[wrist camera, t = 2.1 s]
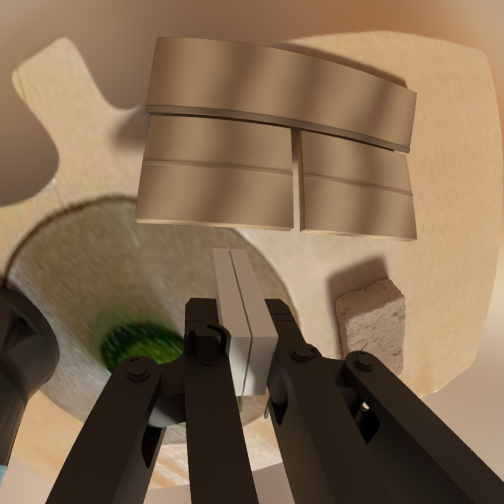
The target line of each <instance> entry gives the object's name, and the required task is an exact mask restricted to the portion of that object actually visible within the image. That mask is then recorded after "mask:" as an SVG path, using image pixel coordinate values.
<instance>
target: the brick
mask: <svg viewBox="0 0 504 504" xmlns="http://www.w3.org/2000/svg"><path fill="white" fill-rule="evenodd" d="M404 302H405V298H404V295H403V294H402V293H401V291H400V290H399V289H398V288H397V287H396V286H395V285H394V284H393V282H392V281H391V280H389V279H382V280H380V281H379V280H378V281H376V282H374V283H373V284H371V285H369V286H367V287H364V288H362V289H360V290H355V291H352V292H348V293H346V294H344V295H342V296H340V297H339V298H337V300H336V301H335V308H336V316H337V320H338V323H339V324H340V325H339V326H340V329H339V331H340V337H341V345H342V351H343V358H344V360H345V358H346V356H347V354H348V353H350V352H352V351H357V350H359V351H366V352H368V353H371V354H373V355H374V356H375V357H377V358H378V359H379V360H380V361H381V362H382V363H383V364H384V365H385V366H386V367H387V368H388V369H389V370H390V371H391V372H393V373H394V374H395V375H396V376H398V375H399V374H401V373H402V370H403V348H402V345H403V340H404V329H405V303H404Z"/></svg>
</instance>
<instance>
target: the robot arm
mask: <svg viewBox="0 0 504 504" xmlns="http://www.w3.org/2000/svg"><path fill="white" fill-rule="evenodd" d="M58 362H59V346H58V343H57V340H56V337H55V335H54V333H53V331H52V329H51V327H50V326H49V324H48V323H47V321H46V320H45V319H44V317H43V316H42V315H41V314H40V313H39V311H38V310H37V309H36V308H35V307H34V306H33V305H32V304H30V303H29V302H28V301H27V300H26V299H24V298H23V297H22V296H20V295H19V294H17V293H15V292H13V291H11V290H9V289H7V288H4V287H0V486H1V482H2V479H3V476H4V473H5V470H7V468H8V463H9V459H10V455H11V452H12V448H13V445H14V441H15V438H16V435H17V432H18V428H19V425H20V422H21V419H22V416H23V413H24V411H25V408H26V406H27V403H28V401H29V399H30V398H31V397H32V396H33V395H34V394H35V393H36V392H37V391H38V389H39V388H40V387H41V386H42V385H43V384H45V383H46V382H47V381H48V380H49V379H50V378H51V377H52V376H53V374H54V372H55V369H56V367H57V364H58ZM266 386H267V387H268V390H269V394H270V395H269V399H268V402H267V406H266V410H265V413H264V419H266V418H268V415H269V412H270V416H271V420H272V424H273V427H274V431H275V435H276V438H277V442H278V446H279V449H280V453H281V456H282V460H283V464H284V467H285V471H286V474H287V478H288V481H289V485H290V488H291V492H292V495H293V498H294V502H295V504H504V482H503V481H502V480H501V479H500V478H499V477H498V476H497V475H496V474H495V473H494V472H493V471H492V470H491V469H490V468H489V467H488V466H487V465H486V464H485V463H484V462H483V461H482V460H481V459H480V458H479V457H478V456H477V455H476V454H475V453H474V452H473V451H472V450H471V449H470V448H469V447H468V446H467V445H466V444H465V443H464V442H463V441H462V440H461V439H460V438H459V437H458V436H457V435H456V434H455V433H454V432H453V431H452V430H451V429H450V428H449V427H448V426H447V425H446V424H445V423H444V422H443V421H442V420H441V419H440V418H439V417H438V416H437V415H436V414H434V412H432V410H431V409H430V408H429V407H427V406H426V405H425V404H424V403H423V402H422V401H421V400H420V399H419V398H418V397H417V396H416V395H415V394H414V393H413V392H412V391H411V390H410V389H409V388H408V387H407V386H406V385H405V384H404V383H403V382H402V381H401V380H400V379H399V378H398V377H397V376H396V375H395V374H394V373H393V372H391V371H390V370H389V369H388V368H387V367H386V366H385V365H384V364H383V363H382V362H381V361H380V360H379V359H378V358H377V357H375V356H374V355H373V354H371V353H368V352H366V351H359V350H357V351H352V352H350V353H348V354H347V356H346V358H345V360H336V359H330V358H325V357H322V355H321V353H320V352H319V351H318V349H317V348H315V347H314V346H312V345H311V344H308V343H306V342H305V340H304V338H303V336H302V334H301V332H300V330H299V328H298V325H297V323H296V322H295V319H294V317H293V315H292V313H291V311H290V309H289V307H288V306H287V305H286V304H285V303H284V302H283V301H282V300H280V299H264V298H263V295H262V292H261V290H260V287H259V285H258V282H257V279H256V277H255V274H254V271H253V269H252V266H251V263H250V261H249V258H248V255H247V253H246V250H241V249H230V252H229V249H222V248H213V250H212V262H211V275H210V289H209V298H190V300H189V301H188V302H187V304H186V306H185V334H184V351H183V353H182V355H181V356H180V357H179V358H177V359H176V360H174V361H172V362H168V363H164V364H159V365H158V364H157V363H156V362H155V361H154V360H153V359H150V358H148V357H145V356H132V357H128V358H126V359H124V360H122V361H121V362H120V363H119V364H118V365H117V366H116V368H115V370H114V371H113V373H112V375H111V376H110V378H109V380H108V382H107V383H106V385H105V387H104V389H103V391H102V392H101V394H100V396H99V398H98V400H97V401H96V403H95V405H94V407H93V409H92V411H91V412H90V414H89V416H88V418H87V420H86V422H85V424H84V425H83V427H82V429H81V431H80V433H79V435H78V437H77V439H76V441H75V443H74V445H73V447H72V449H71V451H70V453H69V455H68V457H67V459H66V461H65V463H64V465H63V467H62V469H61V471H60V473H59V475H58V477H57V479H56V481H55V483H54V486H53V488H52V490H51V492H50V494H49V496H48V499H47V501H46V503H45V504H143V502H144V499H145V495H146V492H147V489H148V485H149V482H150V479H151V476H152V472H153V469H154V466H155V463H156V459H157V456H158V453H159V450H160V447H161V443H162V440H163V437H164V434H165V431H166V428H167V426H170V425H174V424H178V423H182V422H186V437H187V454H188V468H189V481H190V491H191V502H192V504H259V502H258V498H257V494H256V489H255V485H254V481H253V476H252V471H251V467H250V462H249V458H248V453H247V448H246V444H245V439H244V434H243V429H242V424H241V419H240V414H239V409H238V404H237V399H236V396H241V395H242V392H243V396H246V395H264V394H265V390H266ZM364 402H365V404H366V405H367V406H368V407H369V409H366V408H365V407H363V403H364Z"/></svg>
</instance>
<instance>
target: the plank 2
mask: <svg viewBox="0 0 504 504" xmlns="http://www.w3.org/2000/svg"><path fill="white" fill-rule="evenodd" d="M297 151H298V174H299V206H300V232H304V233H317V234H329V235H341V236H353V237H365V238H376V239H387V240H397V241H408V242H410V241H413V240H417V234H416V223H415V214H414V205H413V194H412V190H411V183H410V177H409V171H408V165H407V160H406V155H403V154H399V153H396V152H392V151H389V150H385V149H381V148H378V147H374V146H370V145H366V144H362V143H358V142H354V141H350V140H345V139H341V138H336V137H332V136H327V135H322V134H317V133H312V132H306V131H301V132H300V133H299V135H298V136H297Z"/></svg>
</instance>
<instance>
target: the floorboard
mask: <svg viewBox="0 0 504 504" xmlns="http://www.w3.org/2000/svg"><path fill="white" fill-rule="evenodd" d="M416 97H417V93H416V92H414V91H411V90H409V89H407V88H404V87H402V86H400V85H397V84H395V83H392V82H390V81H387V80H385V79H382V78H379V77H377V76H374V75H371V74H368V73H365V72H363V71H360V70H357V69H354V68H350V67H347V66H344V65H341V64H337V63H334V62H331V61H327V60H323V59H320V58H316V57H312V56H308V55H304V54H300V53H295V52H291V51H286V50H281V49H276V48H271V47H265V46H259V45H253V44H246V43H238V42H231V41H222V40H213V39H200V38H181V37H157V42H156V48H155V53H154V59H153V66H152V72H151V79H150V86H149V93H148V101H147V108H146V112H148V113H172V114H190V115H205V116H216V117H227V118H236V119H245V120H253V121H260V122H267V123H274V124H280V125H287V126H292V127H298V128H304V129H309V130H314V131H319V132H324V133H329V134H334V135H338V136H343V137H347V138H351V139H355V140H359V141H363V142H367V143H371V144H375V145H379V146H382V147H386V148H390V149H393V150H396V151H400V152H404V153H408V154H409V151H410V149H409V148H410V142H411V136H412V129H413V122H414V114H415V106H416Z"/></svg>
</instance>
